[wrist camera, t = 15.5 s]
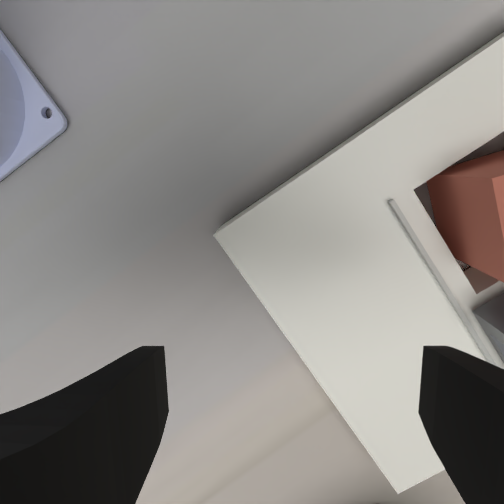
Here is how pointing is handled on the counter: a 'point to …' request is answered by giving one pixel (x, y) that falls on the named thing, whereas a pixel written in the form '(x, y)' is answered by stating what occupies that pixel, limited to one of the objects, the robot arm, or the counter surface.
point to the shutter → (493, 322)
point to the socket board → (378, 261)
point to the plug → (472, 211)
